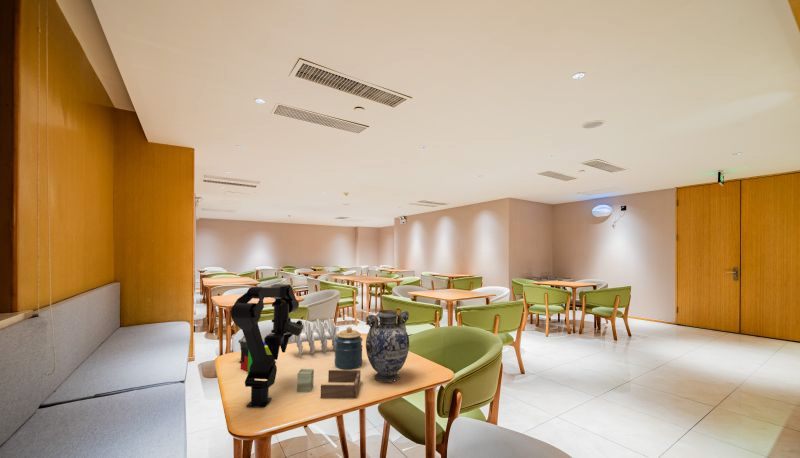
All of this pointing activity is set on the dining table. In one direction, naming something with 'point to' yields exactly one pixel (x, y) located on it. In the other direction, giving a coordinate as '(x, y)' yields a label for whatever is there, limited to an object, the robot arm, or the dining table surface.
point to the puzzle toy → (249, 357)
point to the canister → (348, 349)
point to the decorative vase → (387, 343)
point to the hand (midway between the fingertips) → (279, 355)
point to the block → (305, 380)
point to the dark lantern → (242, 342)
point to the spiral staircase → (317, 335)
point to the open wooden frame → (341, 390)
